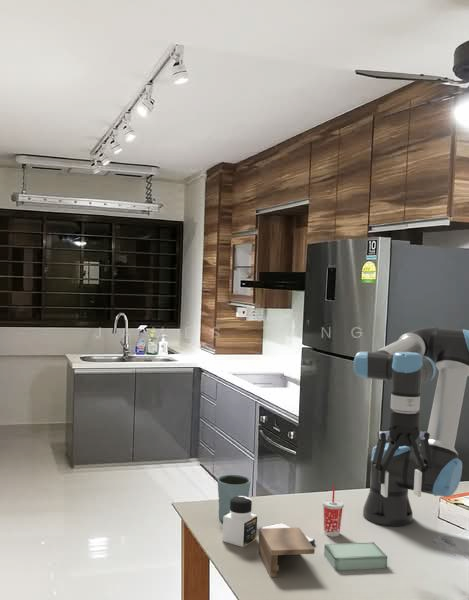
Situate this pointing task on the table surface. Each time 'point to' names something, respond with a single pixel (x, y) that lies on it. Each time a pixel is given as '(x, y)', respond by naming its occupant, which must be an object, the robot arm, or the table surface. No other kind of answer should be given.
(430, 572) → the table surface
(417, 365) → the robot arm
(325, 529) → the beverage cup
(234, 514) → the medicine bottle
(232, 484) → the teal tapered cup
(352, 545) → the bevelled sage-green slab
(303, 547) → the walnut shelf
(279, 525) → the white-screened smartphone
